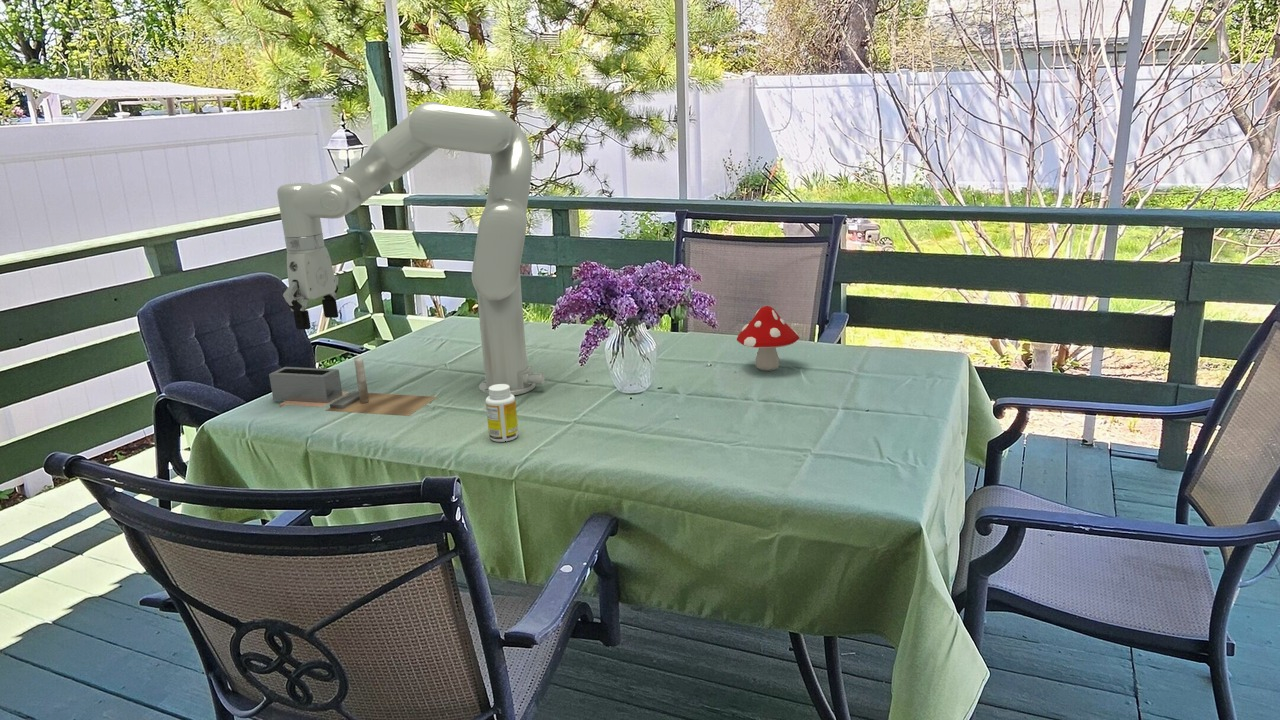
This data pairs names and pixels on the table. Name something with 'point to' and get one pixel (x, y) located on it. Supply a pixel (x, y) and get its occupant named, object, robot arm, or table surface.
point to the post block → (377, 399)
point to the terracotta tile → (309, 402)
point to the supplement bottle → (501, 413)
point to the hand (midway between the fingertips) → (317, 323)
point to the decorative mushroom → (767, 337)
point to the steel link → (305, 384)
